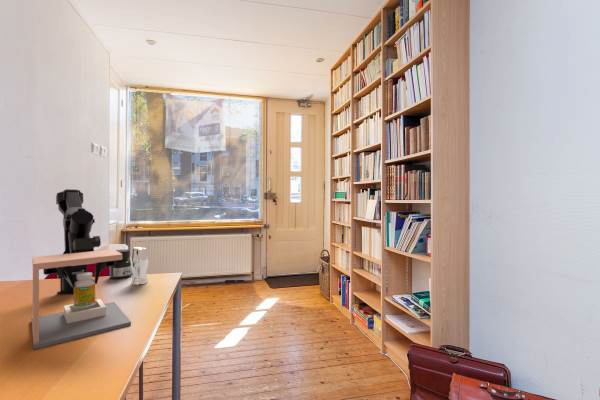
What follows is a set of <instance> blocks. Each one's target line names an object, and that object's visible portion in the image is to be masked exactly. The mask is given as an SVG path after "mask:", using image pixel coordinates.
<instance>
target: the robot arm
mask: <svg viewBox="0 0 600 400" xmlns="http://www.w3.org/2000/svg"><path fill="white" fill-rule="evenodd" d="M83 203H84V193H83V192H81V190H80V189H73V188H72V189H71V188H70V189H69V188H68V189H64V190H63V191H60V192H57V193H56V196H55V204H56V205H58V206H57V207H58V210H59V212H60V213H61V214H62V216H63V218H62V219H63V220H62V224H63V226H62V227H63V235H64V237H63V238H64V240H63V242H64V251H63V253H62V254H70V253H80V252H91V251H95V249H94V248H99V247H100V246H101V244H102V243H101V236H100V235H96V236H94V235H93V236H92V237H91V235H90V233H91V231H92V228H93V225H94V223H96V222H95V220H96V219H94V215H93V214H92V213H91V212H90V211H88V210H87V209H86V208H84V207H83ZM116 262H117V260H115V261H106V262H98V263H95V267H94V280H95V285H96V284H98V281H99V277H100V274H101V273H102V271H103V270H105V269H106V268H110V267H111V266H115V265H116ZM91 264H92V265H93V264H94V263H90V264H89V265H91ZM42 271H43V275H45V276H47V275H57V279H59V280H60V281H59V282H60V285H59V286H60V290H59V291H57V292H56V294H61V295H62V294H67V295H69V294H70V295H72V294H73V295H74V283H75V282H76V281H77V279H76V275H77V274H79V273H85V272H88V264H81V265H73V266H64V267H56V268H47V269H42Z"/></svg>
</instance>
